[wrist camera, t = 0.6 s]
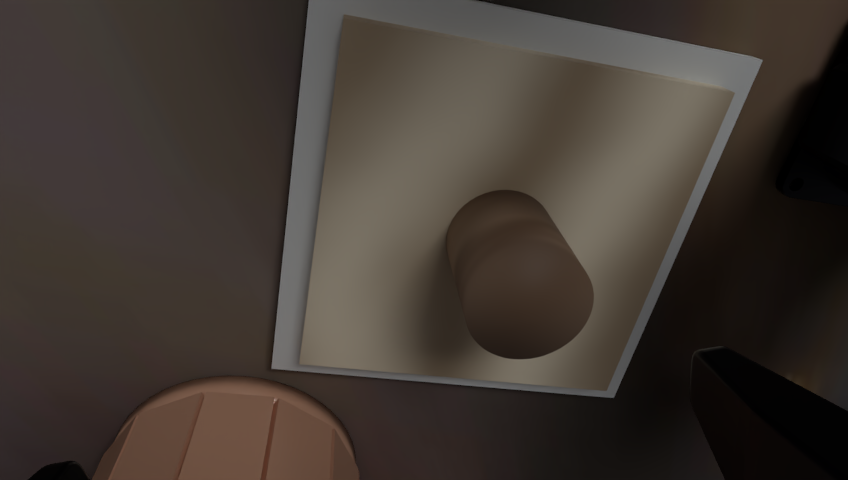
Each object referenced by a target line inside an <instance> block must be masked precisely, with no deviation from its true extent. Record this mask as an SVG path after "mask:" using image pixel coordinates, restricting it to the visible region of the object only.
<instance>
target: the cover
mask: <svg viewBox="0 0 848 480" xmlns="http://www.w3.org/2000/svg"><path fill="white" fill-rule="evenodd" d="M734 94H735V92H732V91H730V90H728V89H726V88H724V87H722V86H717V85H712V84H706V83H701V82H696V81H691V80H685V79H680V78H675V77H670V76H664V75H659V74H654V73H649V72H644V71H638V70H633V69H628V68H623V67H617V66H612V65H607V64H602V63H597V62H591V61H586V60H581V59H576V58H570V57H565V56H560V55H555V54H550V53H544V52H539V51H534V50H529V49H523V48H518V47H513V46H508V45H503V44H497V43H492V42H487V41H482V40H476V39H471V38H466V37H461V36H456V35H450V34H445V33H440V32H435V31H429V30H424V29H419V28H414V27H408V26H403V25H398V24H393V23H388V22H382V21H377V20H372V19H367V18H361V17H356V16H351V15H346V14H344V17H343V25H342V33H341V40H340V48H339V56H338V64H337V72H336V80H335V87H334V95H333V103H332V111H331V119H330V127H329V134H328V142H327V150H326V158H325V166H324V174H323V181H322V189H321V197H320V205H319V213H318V221H317V228H316V236H315V244H314V252H313V260H312V268H311V275H310V283H309V291H308V299H307V307H306V315H305V322H304V330H303V338H302V346H301V354H300V362H299V364H303V365H314V366H326V367H337V368H349V369H360V370H371V371H383V372H394V373H406V374H417V375H428V376H440V377H451V378H463V379H474V380H486V381H497V382H508V383H520V384H531V385H543V386H554V387H565V388H577V389H588V390H600V391H607V389H608V387H609V384H610V382H611V380H612V377H613V375H614V373H615V370H616V368H617V366H618V363H619V361H620V359H621V356H622V354H623V352H624V349H625V347H626V345H627V342H628V340H629V338H630V336H631V333H632V331H633V329H634V326H635V324H636V322H637V319H638V317H639V315H640V312H641V310H642V308H643V305H644V303H645V301H646V298H647V296H648V294H649V291H650V289H651V287H652V285H653V282H654V280H655V278H656V275H657V273H658V271H659V268H660V266H661V264H662V261H663V259H664V257H665V254H666V252H667V250H668V247H669V245H670V243H671V240H672V238H673V236H674V234H675V231H676V229H677V227H678V224H679V222H680V220H681V217H682V215H683V213H684V210H685V208H686V206H687V203H688V201H689V199H690V196H691V194H692V192H693V189H694V187H695V185H696V183H697V180H698V178H699V176H700V173H701V171H702V169H703V166H704V164H705V162H706V159H707V157H708V155H709V152H710V150H711V148H712V145H713V143H714V141H715V138H716V136H717V134H718V132H719V129H720V127H721V125H722V122H723V120H724V118H725V115H726V113H727V111H728V108H729V106H730V104H731V101H732V99H733V97H734Z"/></svg>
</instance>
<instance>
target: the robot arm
mask: <svg viewBox="0 0 848 480" xmlns="http://www.w3.org/2000/svg"><path fill="white" fill-rule="evenodd" d="M794 179H796V181H795V183H794V184H793V185H791V186H790V183H791V182H792V180H794ZM776 188H777V189H778V191H779V192H781V193H782V194H784V195H786V196H788V197H791V198H797V199H804V200H810V201H816V202H823V203H829V204H835V205H842V206H848V36H847V38H846V40H845V42H844V44H843V46H842V48H841V50H840V52H839V54H838V56H837V58H836V60H835V62H834V64H833V66H832V68H831V70H830V72H829V74H828V76H827V78H826V80H825V82H824V84H823V86H822V88H821V90H820V93H819V95H818V97H817V99H816V101H815V103H814V105H813V107H812V109H811V111H810V113H809V115H808V117H807V119H806V121H805V123H804V125H803V127H802V129H801V131H800V133H799V135H798V137H797V139H796V141H795V143H794V145H793V147H792V149H791V151H790V153H789V155H788V157H787V159H786V161H785V163H784V165H783V167H782V169H781V171H780V173H779V175H778V177H777V180H776ZM690 400H691V404H692V407H693V410H694V412H695V414H696V417H697V419H698V421H699V423H700V426H701V428H702V430H703V432H704V434H705V437H706V439H707V441H708V443H709V445H710V448H711V450H712V452H713V454H714V456H715V459H716V461H717V463H718V465H719V467H720V470H721V472H722V474H723V476H724V479H725V480H848V411H846V410H845V409H843V408H841V407H839V406H837V405H835V404H833V403H831V402H829V401H828V400H826V399H824V398H822V397H820V396H818V395H816V394H814V393H812V392H811V391H809V390H807V389H805V388H803V387H801V386H799V385H797V384H795V383H794V382H792V381H790V380H788V379H786V378H784V377H782V376H780V375H778V374H777V373H775V372H773V371H771V370H769V369H767V368H765V367H763V366H761V365H760V364H758V363H756V362H754V361H752V360H750V359H748V358H746V357H744V356H742V355H741V354H739V353H737V352H735V351H733V350H731V349H729V348H727V347H724V346H716V347H711V348H705V349H699V350H697V351H695V352H694V353H693V356H692V361H691V378H690ZM28 480H90V479H89V477H88V475H87V474H86V472H85V471H84V469H83V468H82V466H81V465H80V464H79V463H77V462H75V461H66V462H60V463H55V464H50V465H47V466H44V467H43V468H41V469H40V470H39V471H37V472H36V473H35V474H34V475H33V476H32V477H30V478H29V479H28Z"/></svg>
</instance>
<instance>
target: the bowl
mask: <svg viewBox="0 0 848 480" xmlns="http://www.w3.org/2000/svg"><path fill="white" fill-rule="evenodd" d="M92 480H359V469H358V467H357V466H356V457H355V450H354V446H353V442H352V440H351V438H350V435H349V433H348V431H347V430H346V428H345V427H344V425H343V424H342V422H341V421H340V420H339V419H338V418H337V417H336V415H335V414H334V413H333V412H332V411H331V410H329V409H328V408H327V407H326V406H325V405H323V404H322V403H321V402H319V401H318V400H316V399H315V398H313V397H311V396H310V395H308V394H306V393H304V392H302V391H300V390H298V389H295V388H293V387H290V386H287V385H285V384H282V383H279V382H275V381H270V380H266V379H262V378H254V377H247V376H216V377H207V378H201V379H195V380H191V381H187V382H184V383H180V384H177V385H174V386H172V387H170V388H167V389H165V390H162V391H161V392H159V393H157V394H155V395H153V396H152V397H150V398H148V399H147V400H146V401H144V402H143V403H142V404H140V405H139V406H138V407H137V408H136V409H135V410H134V411H133V412H132V413H131V414H130V415H129V416H128V418H127V419H126V420H125V422H124V423H123V425H122V426H121V428H120V430H119V433H118V435H117V437H116V439H115V441H114V443H113V444H112V445H111V446H110V447H109V449H108V450H107V451H106V452H105V453H104V455H103V457H102V459H101V461H100V463H99V465H98V467H97V469H96V472H95V474H94V476H93V478H92Z"/></svg>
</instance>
